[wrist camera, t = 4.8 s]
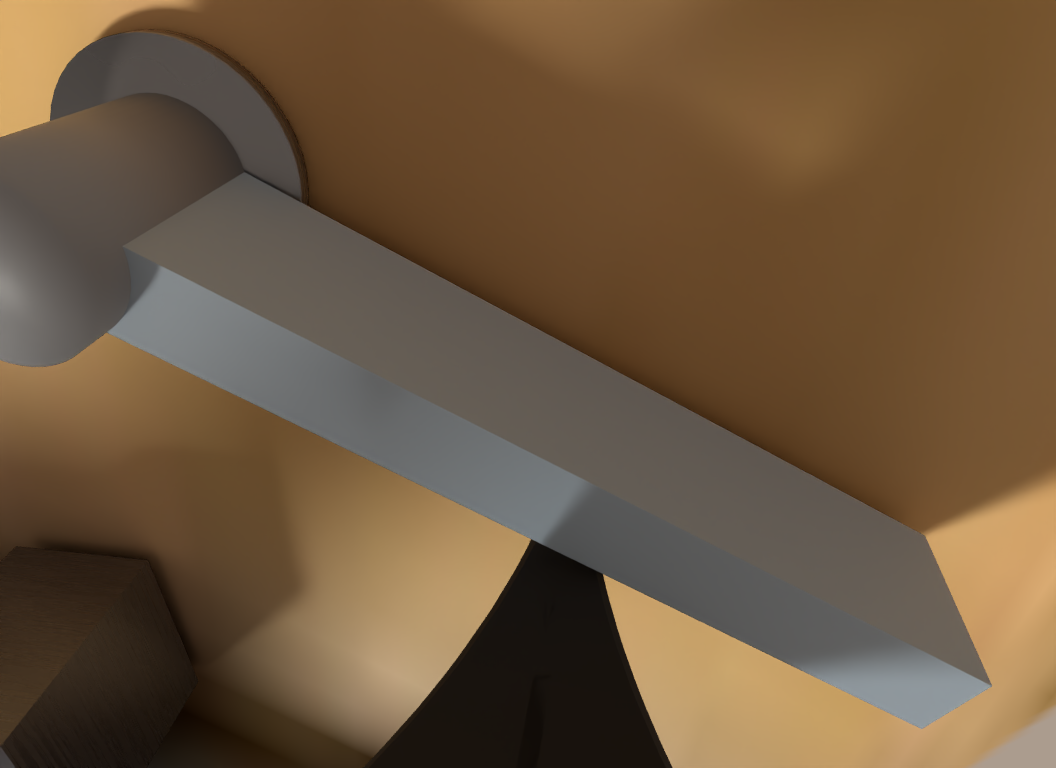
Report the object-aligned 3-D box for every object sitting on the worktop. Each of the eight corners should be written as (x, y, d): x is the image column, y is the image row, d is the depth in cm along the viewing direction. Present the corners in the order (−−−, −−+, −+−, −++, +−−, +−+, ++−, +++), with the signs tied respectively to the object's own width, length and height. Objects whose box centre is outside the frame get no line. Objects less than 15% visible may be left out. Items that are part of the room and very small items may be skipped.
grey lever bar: (949, 516, 11) (1046, 711, 8) (850, 595, 12) (907, 788, 10) (106, 59, 9) (-125, 117, 6) (84, 204, 10) (-118, 305, 8)
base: (327, 289, 11) (319, 298, 11) (113, 278, 12) (100, 286, 11) (280, 29, 9) (270, 32, 9) (25, 28, 10) (8, 31, 9)
